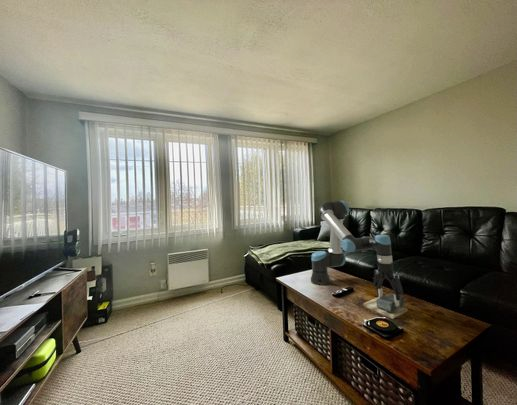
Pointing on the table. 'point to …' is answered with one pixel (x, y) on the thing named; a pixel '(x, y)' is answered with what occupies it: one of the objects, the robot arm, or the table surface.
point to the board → (373, 306)
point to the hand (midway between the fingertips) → (388, 302)
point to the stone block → (389, 302)
